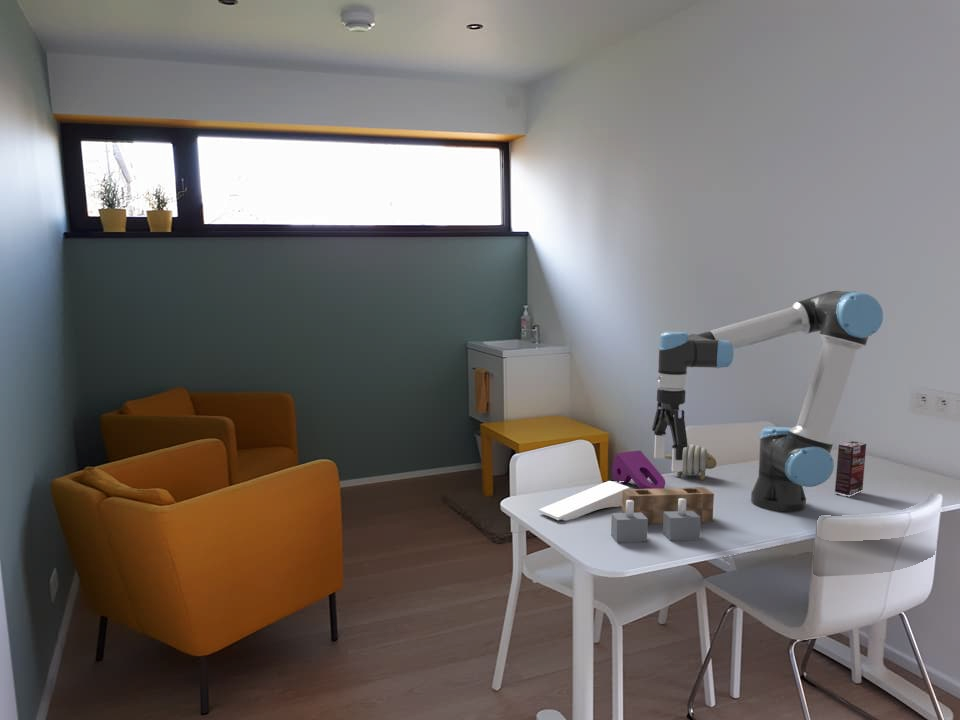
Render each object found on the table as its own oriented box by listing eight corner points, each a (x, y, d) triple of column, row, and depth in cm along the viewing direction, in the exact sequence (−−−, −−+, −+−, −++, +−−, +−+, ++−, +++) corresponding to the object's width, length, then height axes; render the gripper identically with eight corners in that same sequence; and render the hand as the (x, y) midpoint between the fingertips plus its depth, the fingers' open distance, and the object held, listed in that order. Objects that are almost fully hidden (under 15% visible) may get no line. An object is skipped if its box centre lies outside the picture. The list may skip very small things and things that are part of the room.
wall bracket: (559, 542, 199) (630, 510, 215) (561, 520, 196) (633, 489, 212) (536, 524, 207) (606, 494, 222) (538, 502, 204) (609, 474, 219)
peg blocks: (691, 532, 191) (693, 496, 190) (699, 539, 186) (701, 502, 185) (611, 535, 189) (612, 498, 187) (616, 542, 184) (617, 504, 182)
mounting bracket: (662, 506, 230) (632, 469, 244) (671, 486, 226) (640, 450, 240) (638, 510, 227) (609, 472, 240) (646, 490, 222) (616, 453, 236)
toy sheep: (715, 483, 235) (716, 450, 233) (662, 478, 240) (663, 445, 239) (716, 474, 245) (717, 443, 243) (665, 470, 250) (666, 438, 249)
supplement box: (849, 498, 220) (853, 447, 218) (834, 494, 224) (837, 444, 222) (863, 493, 225) (867, 443, 223) (848, 489, 229) (851, 440, 227)
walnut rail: (703, 514, 205) (704, 487, 204) (712, 521, 199) (713, 493, 198) (621, 517, 203) (622, 489, 202) (628, 524, 197) (629, 496, 196)
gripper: (643, 381, 208) (639, 453, 211) (675, 396, 184) (671, 477, 186) (668, 381, 209) (664, 452, 212) (703, 396, 184) (699, 477, 187)
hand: (667, 464), depth 199 cm, fingers open, 13 cm apart
